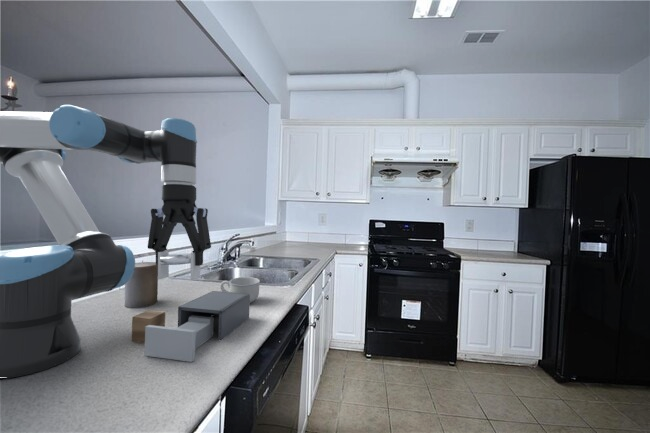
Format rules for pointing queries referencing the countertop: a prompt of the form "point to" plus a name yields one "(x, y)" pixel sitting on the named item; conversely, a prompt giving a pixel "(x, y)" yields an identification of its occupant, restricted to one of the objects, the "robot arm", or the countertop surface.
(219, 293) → the drawer casing
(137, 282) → the pillar candle
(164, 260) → the disc
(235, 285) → the teacup
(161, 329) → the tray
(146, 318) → the walnut block
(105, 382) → the countertop surface
